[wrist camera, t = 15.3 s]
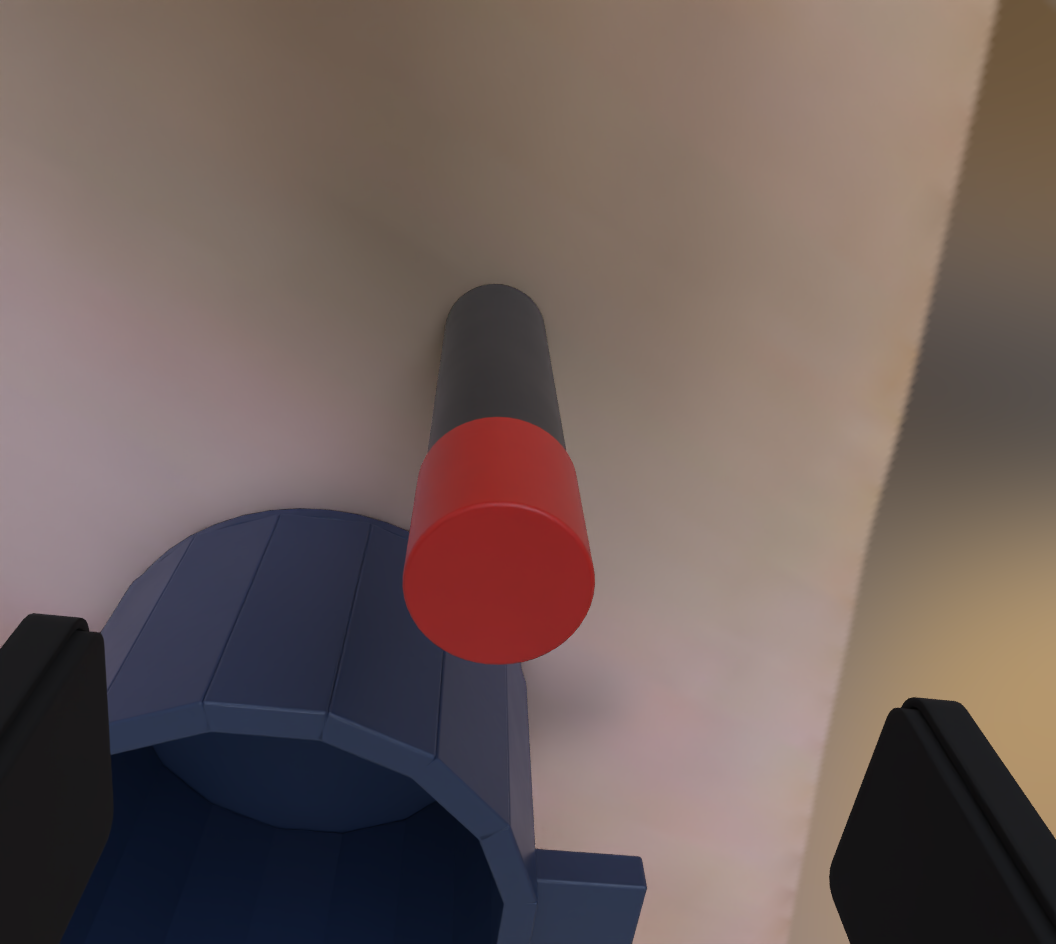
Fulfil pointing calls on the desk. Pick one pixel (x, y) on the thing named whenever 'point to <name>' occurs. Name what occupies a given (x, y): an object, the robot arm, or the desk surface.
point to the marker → (497, 494)
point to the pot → (321, 761)
